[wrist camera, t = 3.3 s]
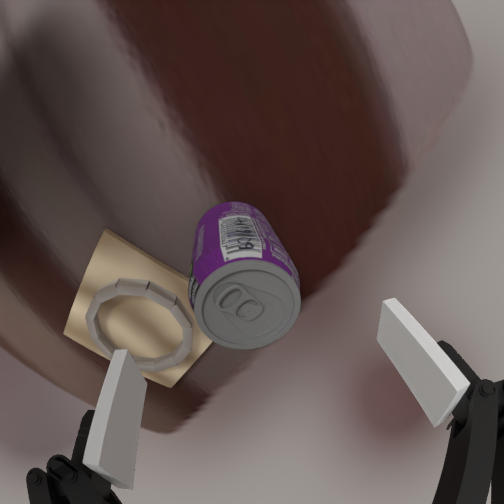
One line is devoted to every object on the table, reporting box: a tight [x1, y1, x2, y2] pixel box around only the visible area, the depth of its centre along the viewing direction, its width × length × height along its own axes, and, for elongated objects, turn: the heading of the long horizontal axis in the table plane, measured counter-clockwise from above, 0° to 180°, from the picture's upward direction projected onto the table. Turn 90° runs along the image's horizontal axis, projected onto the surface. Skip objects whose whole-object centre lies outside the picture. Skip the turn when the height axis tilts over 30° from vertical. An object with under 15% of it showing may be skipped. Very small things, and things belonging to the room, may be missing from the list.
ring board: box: [64, 228, 213, 388], centre depth 28 cm, size 16×16×2 cm
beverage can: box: [188, 202, 301, 350], centre depth 21 cm, size 7×7×12 cm
